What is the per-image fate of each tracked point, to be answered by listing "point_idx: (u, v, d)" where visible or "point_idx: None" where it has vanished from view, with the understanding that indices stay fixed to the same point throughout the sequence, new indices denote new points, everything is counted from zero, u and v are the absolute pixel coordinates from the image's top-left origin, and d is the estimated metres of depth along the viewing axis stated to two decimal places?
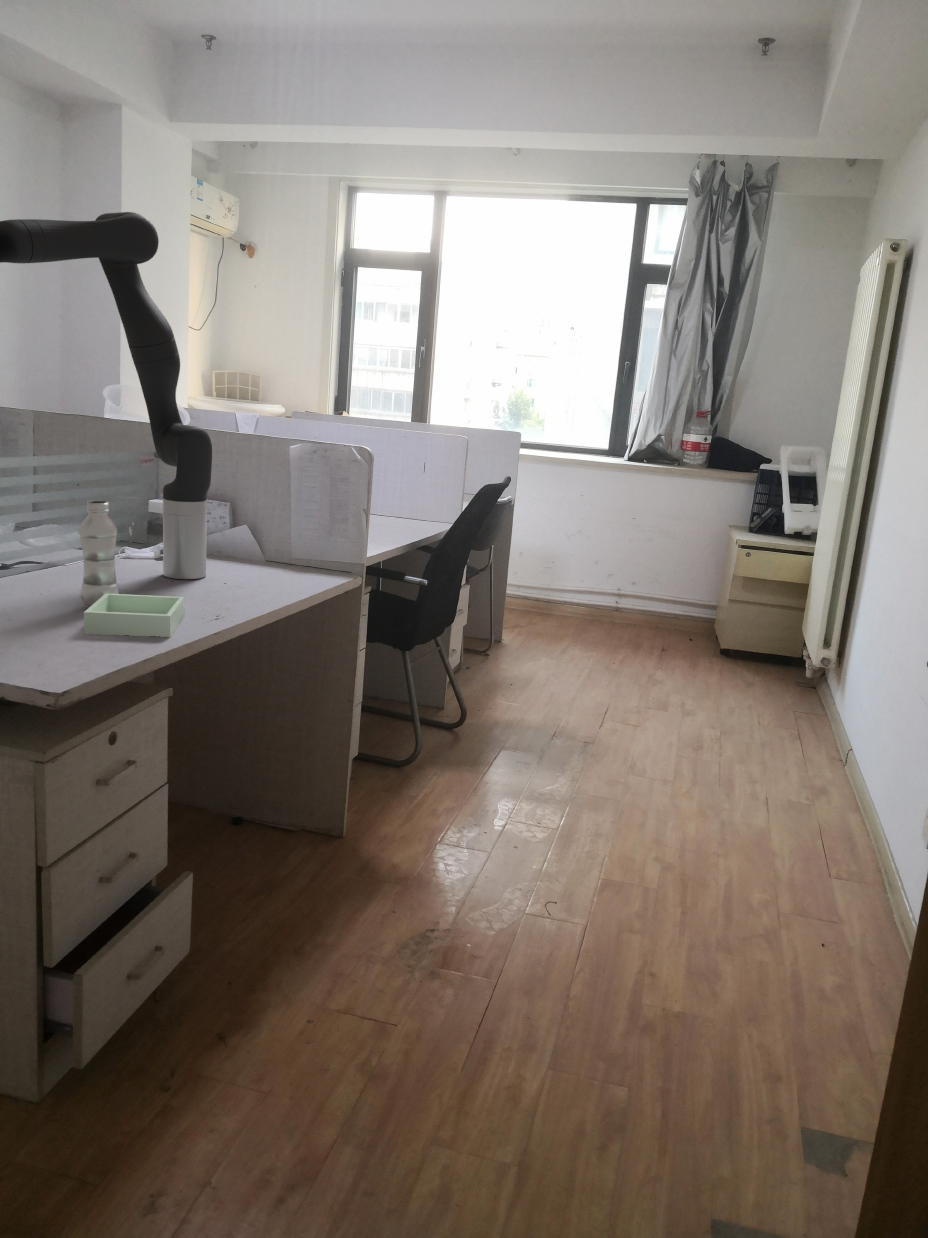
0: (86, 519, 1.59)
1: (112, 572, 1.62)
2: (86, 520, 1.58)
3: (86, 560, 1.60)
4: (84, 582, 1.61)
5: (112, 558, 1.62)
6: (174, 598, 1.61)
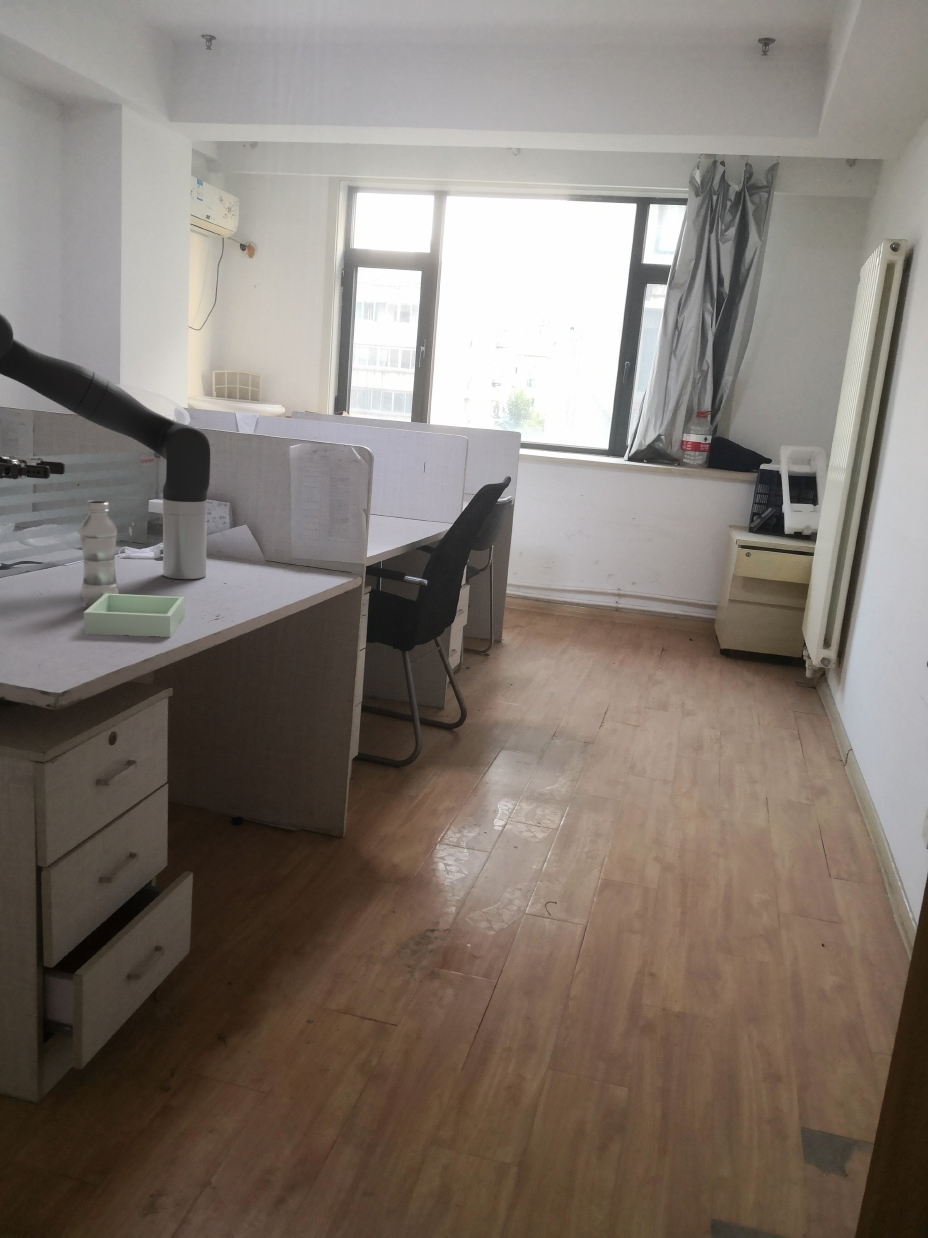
0: (86, 519, 1.59)
1: (112, 572, 1.62)
2: (86, 520, 1.58)
3: (86, 560, 1.60)
4: (84, 582, 1.61)
5: (112, 558, 1.62)
6: (174, 598, 1.61)
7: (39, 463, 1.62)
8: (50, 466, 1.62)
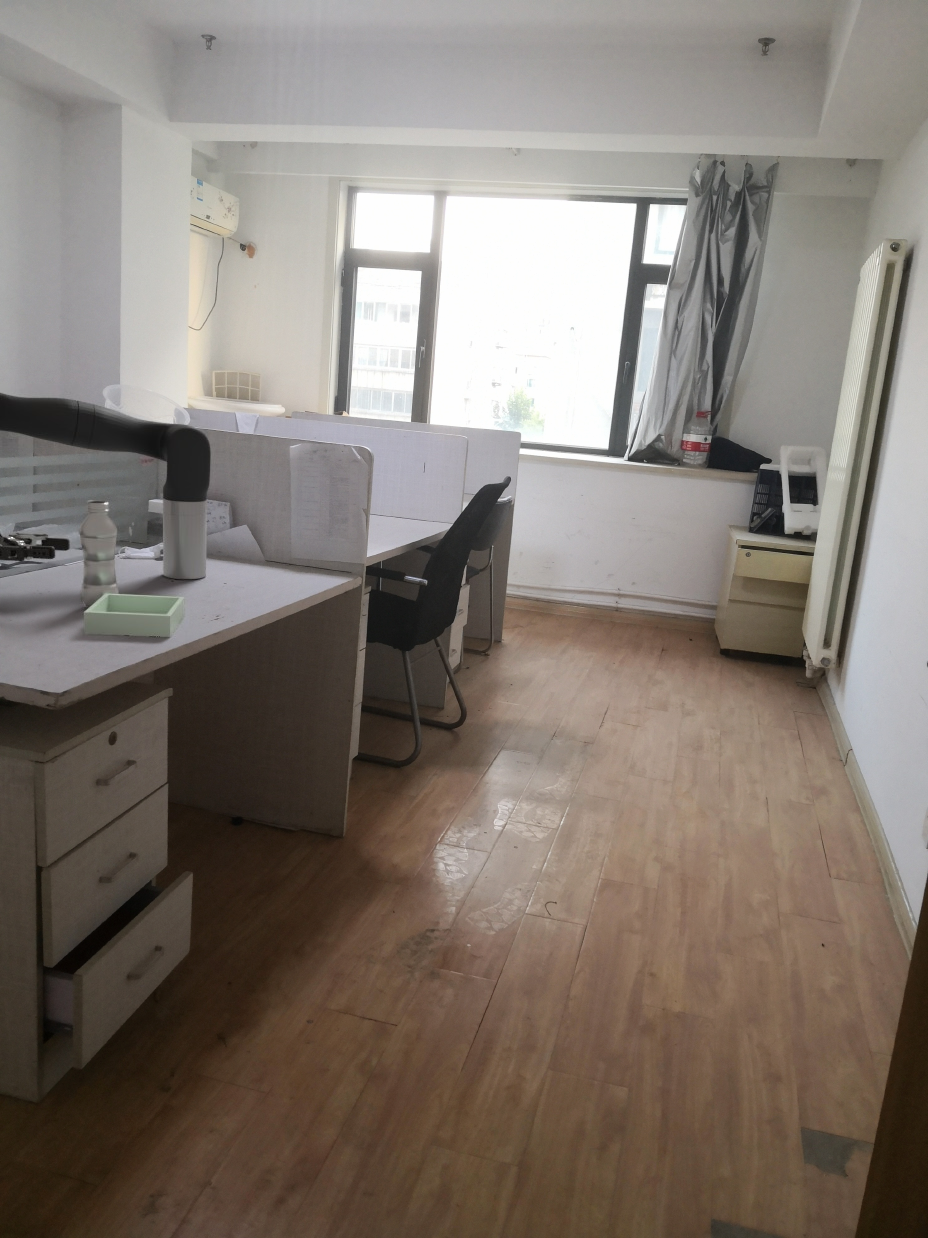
0: (86, 519, 1.59)
1: (112, 572, 1.62)
2: (86, 520, 1.58)
3: (86, 560, 1.60)
4: (84, 582, 1.61)
5: (112, 558, 1.62)
6: (174, 598, 1.61)
7: (44, 540, 1.64)
8: (55, 543, 1.64)
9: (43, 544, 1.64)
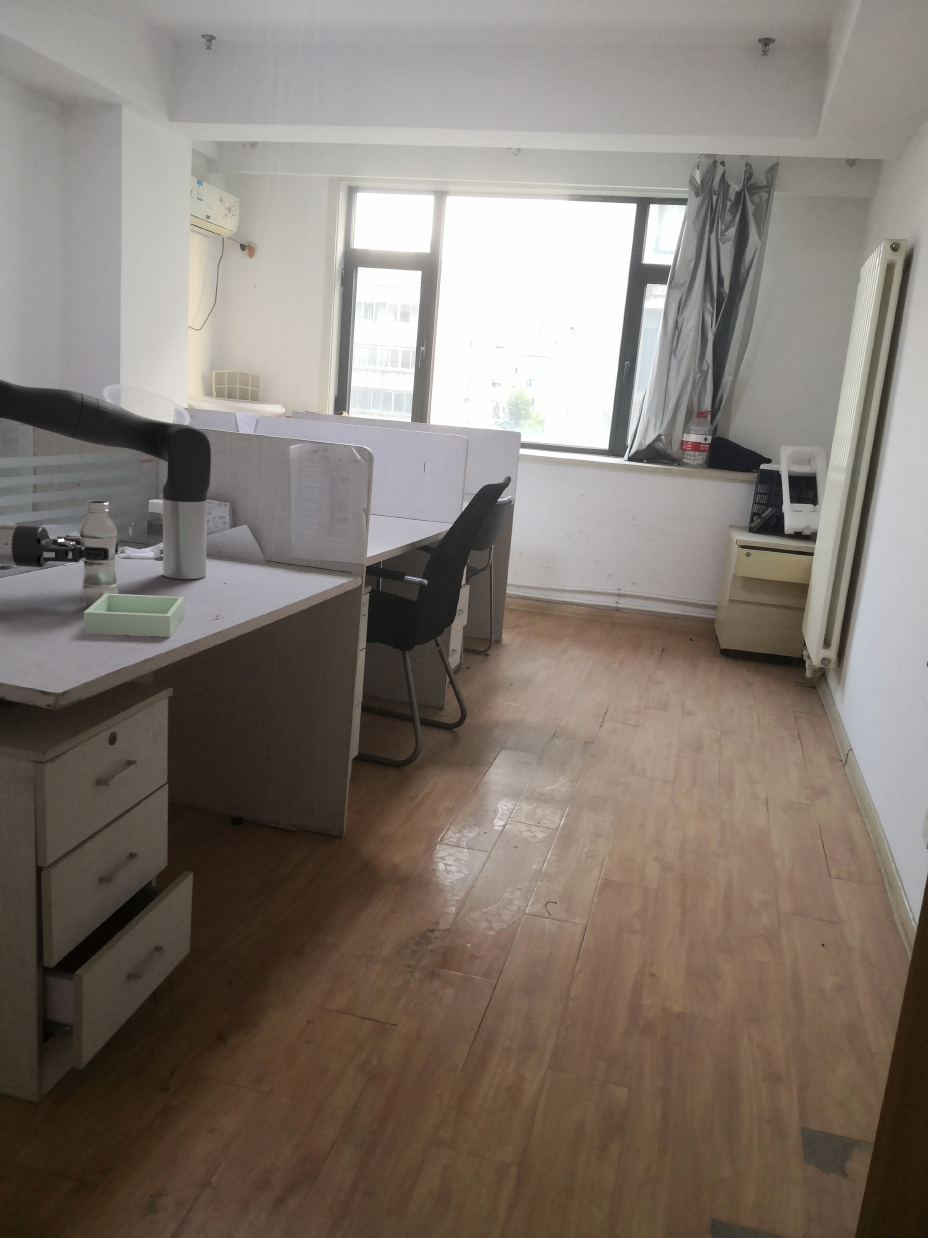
0: (86, 519, 1.59)
1: (112, 572, 1.62)
2: (86, 520, 1.58)
3: (86, 560, 1.60)
4: (84, 582, 1.61)
5: (112, 558, 1.62)
6: (174, 598, 1.61)
7: None
8: None
9: None
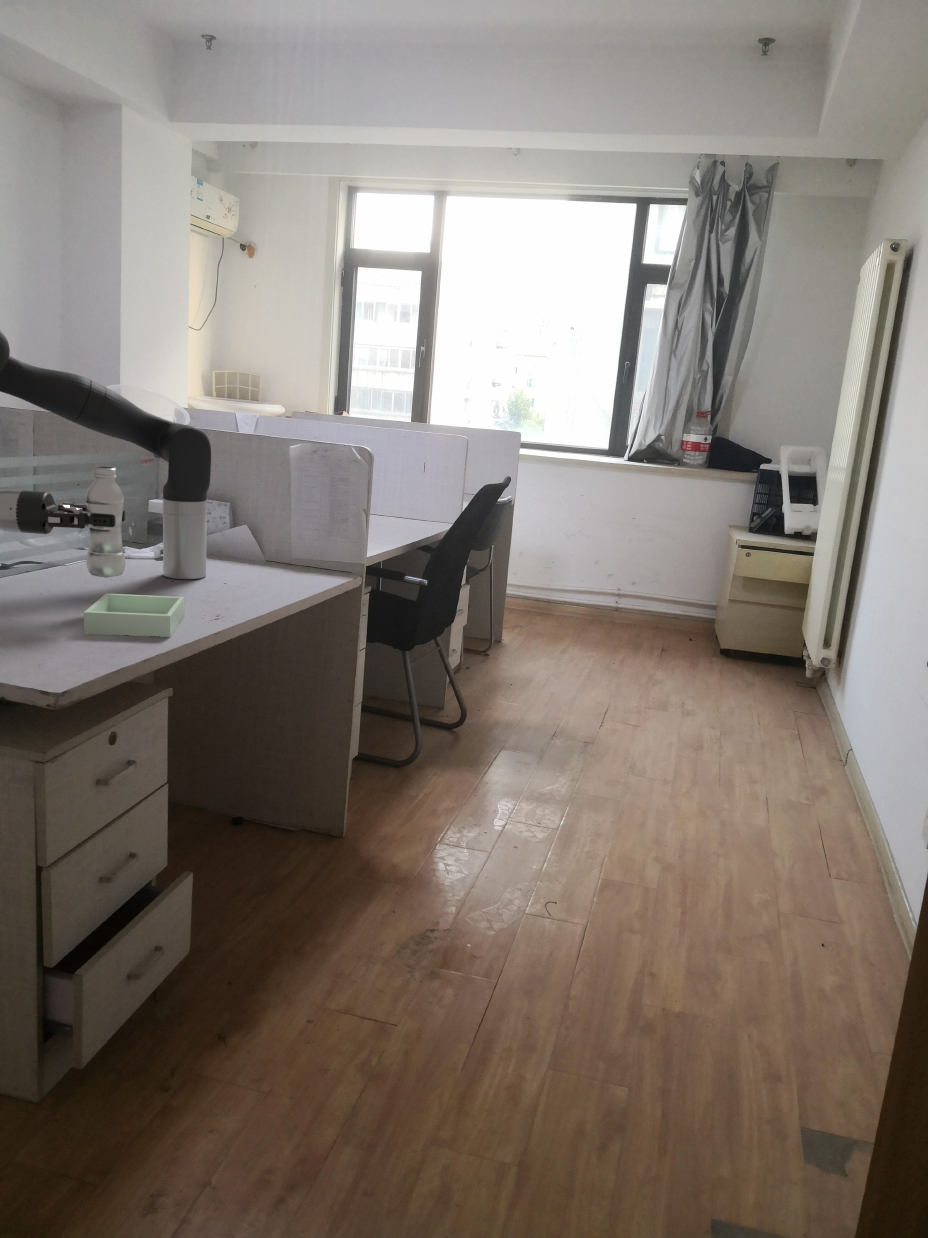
0: (92, 484, 1.54)
1: (118, 540, 1.58)
2: (92, 485, 1.54)
3: (92, 527, 1.56)
4: (90, 550, 1.57)
5: (119, 525, 1.57)
6: (174, 598, 1.61)
7: None
8: None
9: None
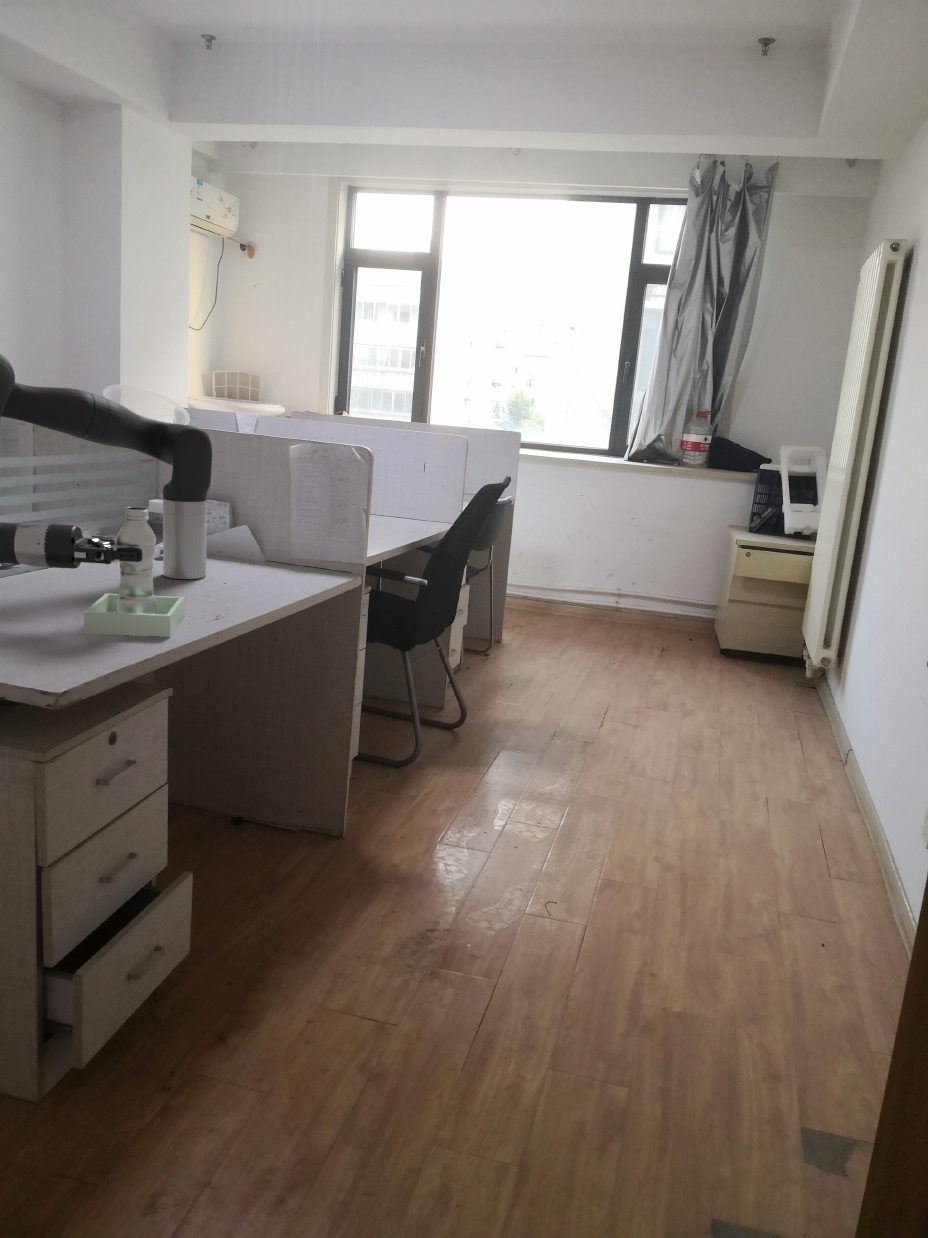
0: (124, 527, 1.49)
1: (149, 583, 1.53)
2: (124, 528, 1.49)
3: (123, 570, 1.50)
4: (120, 593, 1.52)
5: (150, 568, 1.52)
6: (174, 598, 1.61)
7: None
8: None
9: None
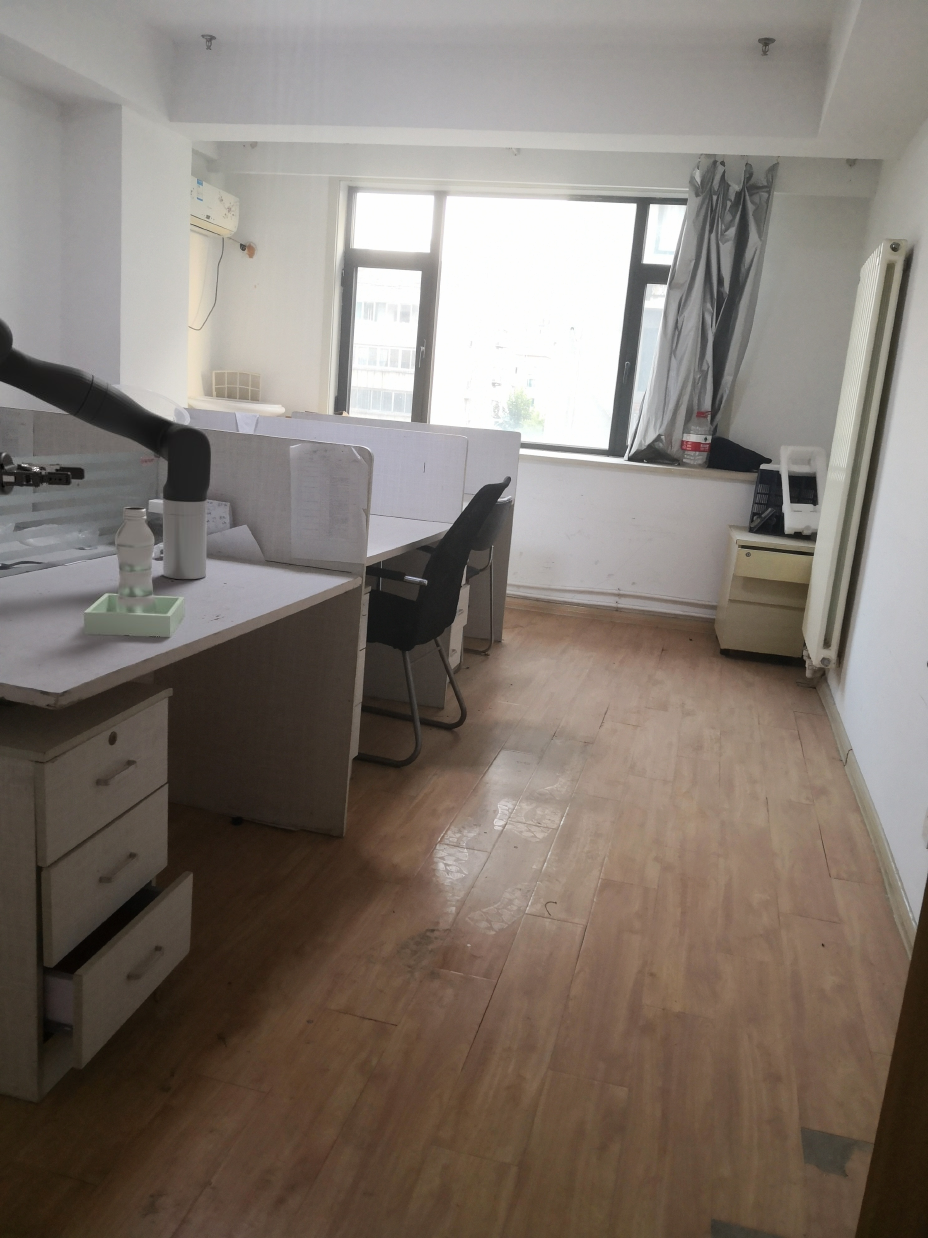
0: (122, 527, 1.49)
1: (149, 583, 1.53)
2: (122, 528, 1.49)
3: (122, 570, 1.50)
4: (120, 593, 1.52)
5: (149, 568, 1.52)
6: (174, 598, 1.61)
7: (58, 469, 1.58)
8: (70, 471, 1.59)
9: None
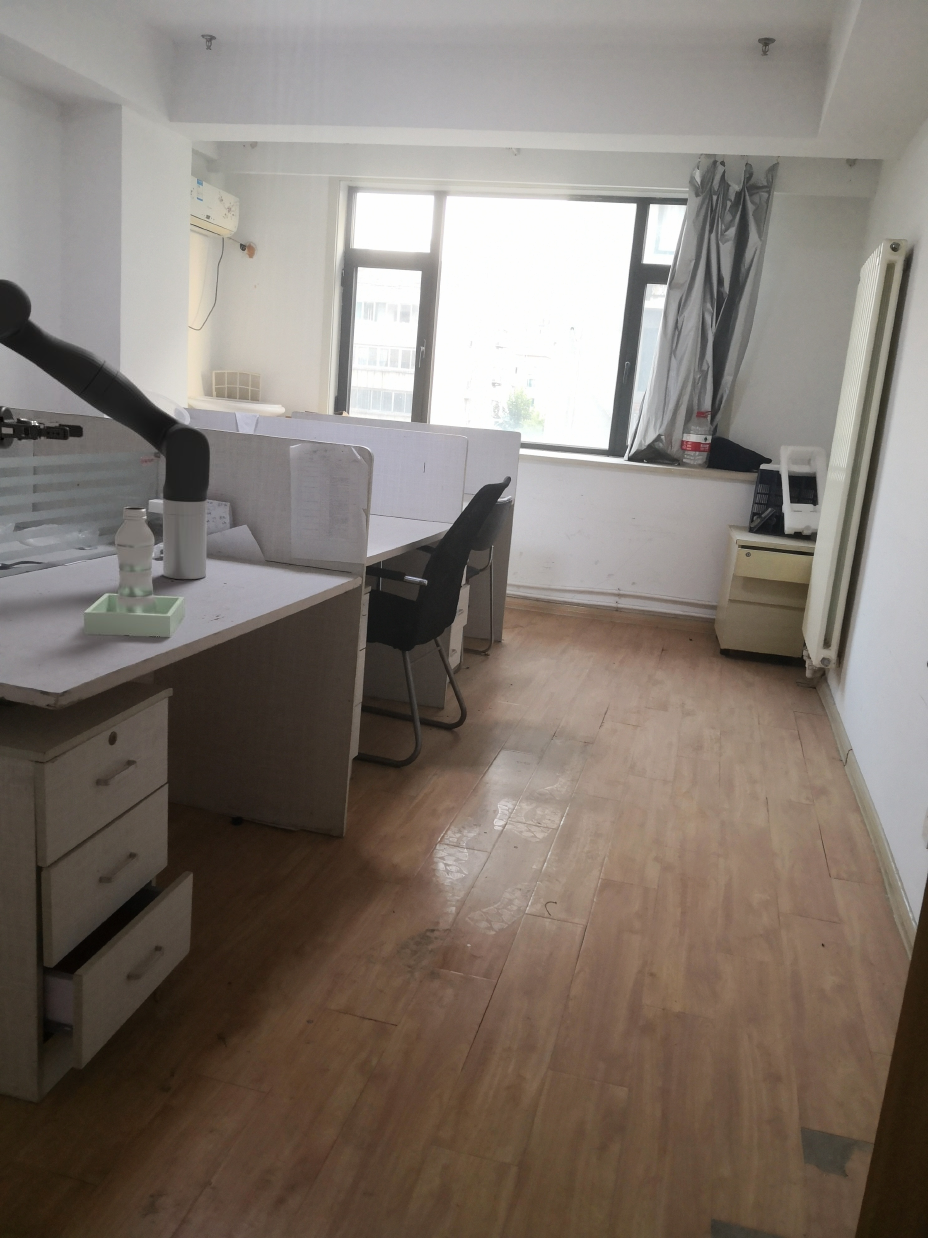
0: (122, 527, 1.49)
1: (149, 583, 1.53)
2: (122, 528, 1.49)
3: (122, 570, 1.50)
4: (120, 593, 1.52)
5: (149, 568, 1.52)
6: (174, 598, 1.61)
7: (57, 426, 1.61)
8: (68, 429, 1.61)
9: None
